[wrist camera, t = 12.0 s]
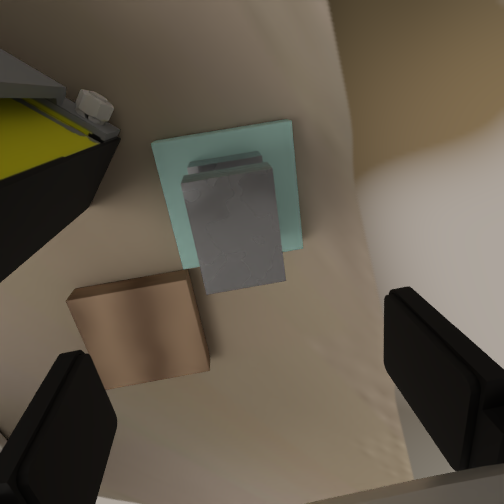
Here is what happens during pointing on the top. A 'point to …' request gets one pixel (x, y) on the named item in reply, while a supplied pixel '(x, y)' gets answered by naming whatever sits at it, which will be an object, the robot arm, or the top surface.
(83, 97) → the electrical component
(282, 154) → the stand
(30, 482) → the robot arm
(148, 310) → the stand
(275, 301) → the top surface
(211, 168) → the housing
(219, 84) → the top surface
